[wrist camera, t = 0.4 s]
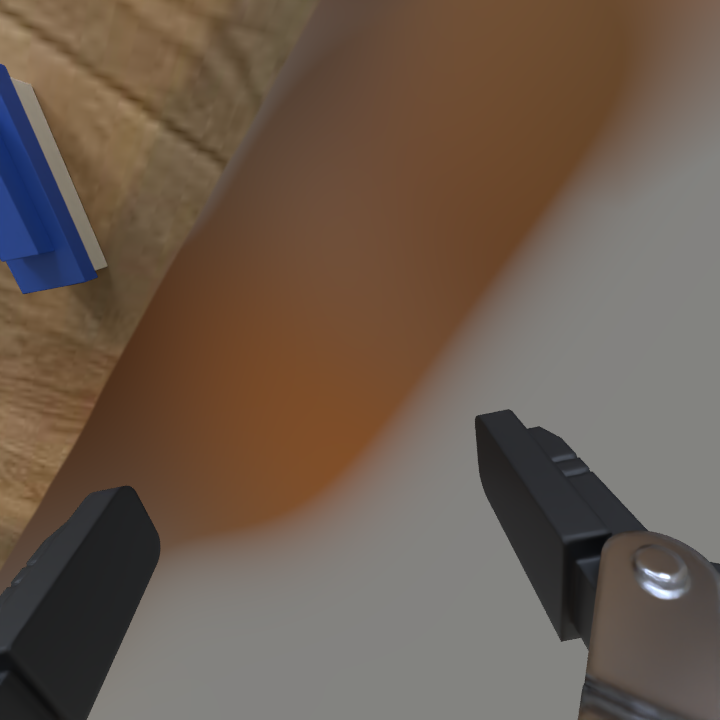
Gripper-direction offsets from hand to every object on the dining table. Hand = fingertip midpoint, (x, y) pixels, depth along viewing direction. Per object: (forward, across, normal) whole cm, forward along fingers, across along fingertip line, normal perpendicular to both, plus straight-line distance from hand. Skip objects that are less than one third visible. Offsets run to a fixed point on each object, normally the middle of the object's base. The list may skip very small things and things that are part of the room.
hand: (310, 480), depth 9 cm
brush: (+28, +20, -10) cm, 36 cm away
